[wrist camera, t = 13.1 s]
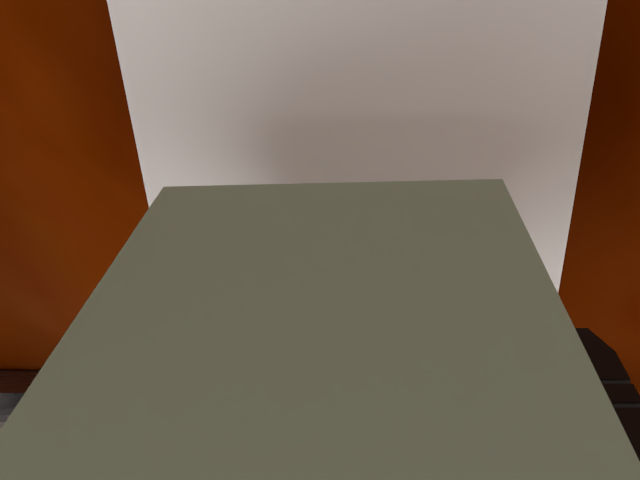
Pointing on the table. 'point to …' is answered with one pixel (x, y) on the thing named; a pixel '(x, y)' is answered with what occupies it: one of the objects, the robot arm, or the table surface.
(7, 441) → the block
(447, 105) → the pad
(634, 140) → the table surface
